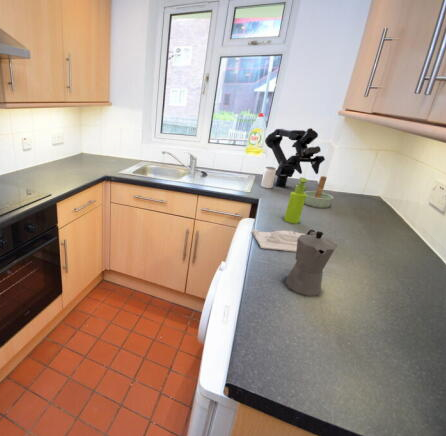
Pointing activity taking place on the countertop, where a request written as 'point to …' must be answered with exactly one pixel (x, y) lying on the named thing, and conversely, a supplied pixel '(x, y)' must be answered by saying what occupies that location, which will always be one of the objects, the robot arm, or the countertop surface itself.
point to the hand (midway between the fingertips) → (309, 173)
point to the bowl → (318, 200)
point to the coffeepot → (310, 263)
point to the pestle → (320, 187)
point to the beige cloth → (277, 240)
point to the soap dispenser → (296, 203)
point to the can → (268, 177)
